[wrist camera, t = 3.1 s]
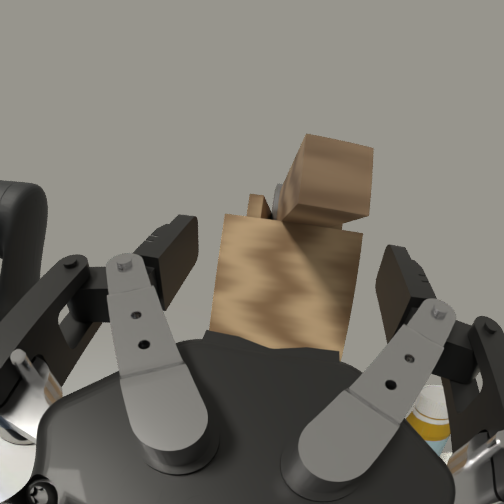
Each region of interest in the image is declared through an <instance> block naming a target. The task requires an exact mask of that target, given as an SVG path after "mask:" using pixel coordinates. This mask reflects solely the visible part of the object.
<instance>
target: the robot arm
mask: <svg viewBox="0 0 504 504" xmlns="http://www.w3.org/2000/svg"><path fill="white" fill-rule="evenodd" d="M47 214H48V206H47V198H46V195H45V192H44V191H43V189H42V188H41V187H40V186H38V185H36V184H32V183H25V182H13V181H2V180H0V258H1V259H3V261H2V268H1V274H0V437H1V438H3V439H4V440H6V441H8V442H11V443H15V444H31V443H35V444H36V456H35V462H34V467H33V471H32V475H31V477H30V479H29V481H28V482H27V484H26V485H25V486H24V487H23V488H22V489H21V490H20V491H19V492H17V493H16V494H15V495H13V496H12V497H10V498H9V499H7V500H5V501H3V502H1V503H0V504H504V333H503V331H502V329H501V327H500V326H499V325H498V324H497V323H496V322H495V321H494V320H492V319H490V318H488V317H485V316H479V317H477V318H476V319H475V321H474V323H473V324H472V326H471V325H468V324H465V323H462V322H459V321H457V320H456V314H455V312H454V310H453V309H452V308H451V307H450V306H449V305H448V304H446V303H445V302H443V301H441V300H438V299H437V298H436V296H435V294H434V292H433V289H432V287H431V285H430V283H429V281H428V279H427V277H426V275H425V273H424V271H423V269H422V267H421V266H420V265H419V264H418V263H416V261H414V260H411V258H410V256H409V254H408V252H407V250H406V248H405V247H400V246H395V245H388V246H387V247H386V249H385V252H384V255H383V259H382V262H381V265H380V268H379V271H378V275H377V278H376V287H375V288H376V293H377V298H378V302H379V306H380V311H381V315H382V320H383V325H384V330H385V334H386V340H387V345H386V347H385V348H384V349H383V350H382V352H381V353H380V354H379V355H378V356H377V357H376V359H375V360H374V361H373V362H372V363H371V364H370V366H369V367H368V368H367V369H366V370H365V371H364V372H363V373H362V372H361V371H359V370H358V369H356V368H354V367H353V366H351V365H348V364H346V363H343V362H341V361H340V355H339V351H334V350H326V349H318V348H310V347H301V348H280V349H272V348H268V347H265V346H262V345H260V344H257V343H255V342H252V341H249V340H247V339H244V338H242V337H239V336H235V335H229V334H224V333H219V332H214V331H209V330H206V332H205V335H204V337H203V339H194V340H187V341H182V342H178V343H175V341H174V339H173V336H172V334H171V331H170V328H169V326H168V323H167V321H166V318H165V315H164V312H163V311H166V310H167V308H168V306H169V305H170V303H171V301H172V300H173V298H174V296H175V295H176V293H177V292H178V290H179V289H180V287H181V285H182V284H183V282H184V281H185V279H186V277H187V276H188V274H189V273H190V271H191V269H192V268H193V266H194V265H195V263H196V261H197V257H198V220H197V217H195V216H187V215H178V216H177V217H176V218H175V219H174V220H173V221H172V222H171V223H170V224H165V225H163V226H161V227H159V228H157V229H156V230H155V231H154V232H153V233H152V234H151V236H149V237H148V238H147V239H146V241H144V242H143V243H142V244H141V245H140V246H139V247H138V248H137V249H136V250H135V251H134V252H133V253H125V254H120V255H117V256H115V257H113V258H112V259H110V260H109V261H108V262H107V264H106V267H89V264H88V260H87V258H86V257H85V256H83V255H70V256H67V257H65V258H63V259H61V260H59V261H58V262H57V263H56V264H55V265H54V266H53V267H52V268H51V269H50V270H49V271H48V272H47V273H46V274H45V275H44V276H43V277H42V278H41V279H40V268H41V260H42V253H43V245H44V240H45V233H46V227H47V217H48V216H47ZM66 304H67V306H68V308H69V311H70V312H69V313H68V314H67V316H66V317H65V318H64V319H63V321H62V322H61V324H60V325H59V324H58V316H59V313H60V311H61V310H62V309H63V307H64V306H65V305H66ZM102 322H110V323H111V329H112V336H113V342H114V346H115V352H116V358H117V363H118V368H119V371H118V372H115V373H113V374H111V375H109V376H107V377H105V378H103V379H101V380H99V381H97V382H95V383H92V384H91V385H88V386H86V387H84V388H82V389H79V390H77V391H75V392H73V393H71V394H69V395H67V396H64V397H62V388H61V387H62V386H63V384H64V382H65V381H66V379H67V377H68V375H69V374H70V372H71V371H72V369H73V368H74V366H75V364H76V363H77V361H78V360H79V358H80V356H81V355H82V353H83V352H84V350H85V348H86V347H87V345H88V344H89V342H90V341H91V339H92V338H93V336H94V335H95V333H96V332H97V330H98V328H99V327H100V326H101V324H102ZM479 372H481V375H482V379H483V386H482V390H481V392H480V393H479V389H478V386H477V382H476V379H475V377H476V376H477V375H478V373H479ZM430 374H434V375H437V376H440V377H441V380H442V385H443V390H444V395H445V401H446V407H447V413H448V419H449V426H450V434H451V442H452V452H453V454H452V455H451V457H450V458H449V460H448V464H447V465H446V464H445V462H444V461H443V460H442V459H441V458H440V457H439V456H438V455H437V453H436V452H435V451H434V450H433V449H432V448H431V447H430V446H429V445H428V443H427V442H426V441H425V440H424V439H423V438H422V437H421V436H420V435H419V433H418V432H417V431H416V430H415V429H414V428H413V427H412V426H411V424H410V423H409V422H408V421H407V420H406V419H405V418H404V417H405V416H406V414H407V413H408V411H409V410H410V408H411V407H412V405H413V403H414V402H415V400H416V399H417V397H418V395H419V394H420V392H421V390H422V389H423V387H424V385H425V383H426V382H427V380H428V378H429V376H430Z"/></svg>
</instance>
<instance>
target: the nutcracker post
mask: <svg viewBox="0 0 504 504" xmlns="http://www.w3.org/2000/svg"><path fill="white" fill-rule="evenodd" d="M271 214H272V213H271V211H270V208H269V206H268V204H267V202H266V200H265V197H264V196H263V195H255V194H250V197H249V204H248V210H247V216H238V215H231V214H225V219H224V225H223V232H222V239H221V245H220V252H219V259H218V266H217V274H216V281H215V289H214V296H213V304H212V312H211V320H210V328H209V331H214V332H219V333H224V334H229V335H235V336H239V337H242V338H244V339H247V340H249V341H252V342H255V343H257V344H260V345H262V346H265V347H268V348H272V349H280V348H301V347H310V348H318V349H326V350H334V351H339V355H340V361H341V358H342V353H343V349H344V344H345V340H346V335H347V330H348V325H349V320H350V314H351V309H352V303H353V298H354V292H355V286H356V279H357V274H358V266H359V260H360V253H361V244H362V236H363V233H357V232H351V231H345V230H342V224H339V225H336V226H333V227H329V228H326V227H319V226H312V225H305V224H298V223H291V222H284V221H277V220H271Z"/></svg>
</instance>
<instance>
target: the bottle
mask: <svg viewBox="0 0 504 504" xmlns="http://www.w3.org/2000/svg"><path fill="white" fill-rule="evenodd" d="M406 420H407V421H408V422H409V423H410V424H411V426H412V427H413V428H414V429H415V430H416V431H417V432H418V433H419V435H420V436H421V437H422V438H423V439H424V440H425V441H426V442H427V443H428V445H429V446H430V447H431V448H432V449H433V450H434V451H435V452H436V453H437V455H438V456H440V454H441V452H442V450H443V448H444V446H445V444H446V442H447V440H448V438H449V436H450V426H449V419H448V413H447V407H446V401H445V395H444V390H443V386H440V385H426V386H424V387H423V389H422V390H421V392H420V394H419V395H418V397H417V399H416V401H415V405H414V408H413V411H412V412H411V413H410V415H409V416H408V417H407V418H406Z"/></svg>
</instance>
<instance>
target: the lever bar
mask: <svg viewBox="0 0 504 504" xmlns="http://www.w3.org/2000/svg"><path fill="white" fill-rule="evenodd" d="M372 169H373V148H371V147H367V146H363V145H358V144H354V143H350V142H345V141H341V140H336V139H331V138H326V137H321V136H316V135H311V134H306V135H305V137H304V140H303V142H302V144H301V146H300V149H299V151H298V153H297V155H296V157H295V160H294V162H293V164H292V166H291V168H290V170H289V173H288V175H287V177H286V179H285V181H284V183H283V184H277V186H276V189H275V194H274V201H273V207H272V214H271V220H277V221H284V222H291V223H298V224H305V225H312V226H319V227H326V228H329V227H333V226H336V225H339V224H343V223H346V222H350V221H353V220H357V219H360V218H363V217H367V216H369V209H370V198H371V184H372Z"/></svg>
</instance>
